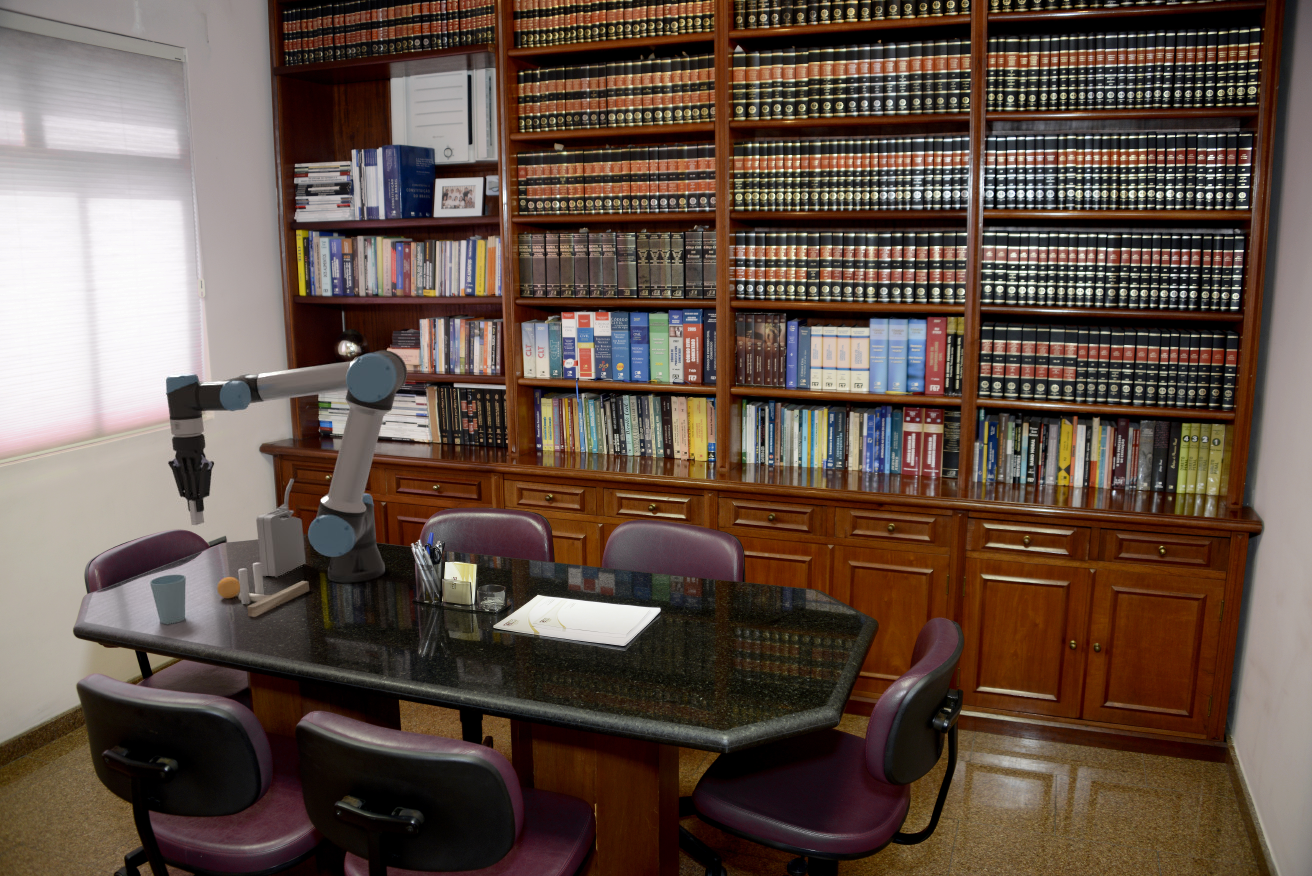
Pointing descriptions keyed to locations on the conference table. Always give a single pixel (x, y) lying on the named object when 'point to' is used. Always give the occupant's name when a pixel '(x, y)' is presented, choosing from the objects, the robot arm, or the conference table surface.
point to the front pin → (255, 597)
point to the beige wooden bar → (278, 598)
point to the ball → (228, 587)
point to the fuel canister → (280, 539)
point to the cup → (169, 597)
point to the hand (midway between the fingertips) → (197, 523)
